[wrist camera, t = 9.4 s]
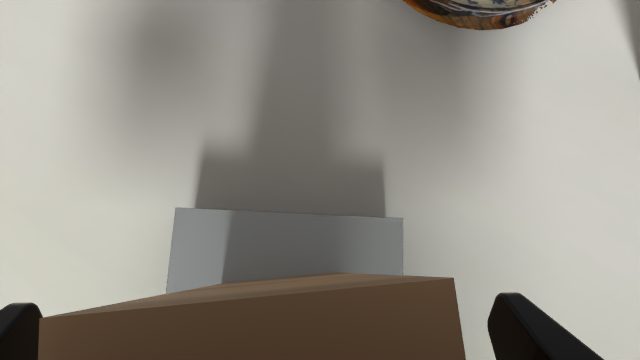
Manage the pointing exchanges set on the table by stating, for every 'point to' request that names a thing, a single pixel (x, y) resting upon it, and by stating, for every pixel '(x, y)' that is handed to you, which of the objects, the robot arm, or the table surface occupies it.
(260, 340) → the walnut pillar
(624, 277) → the table surface
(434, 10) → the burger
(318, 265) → the grey base block
